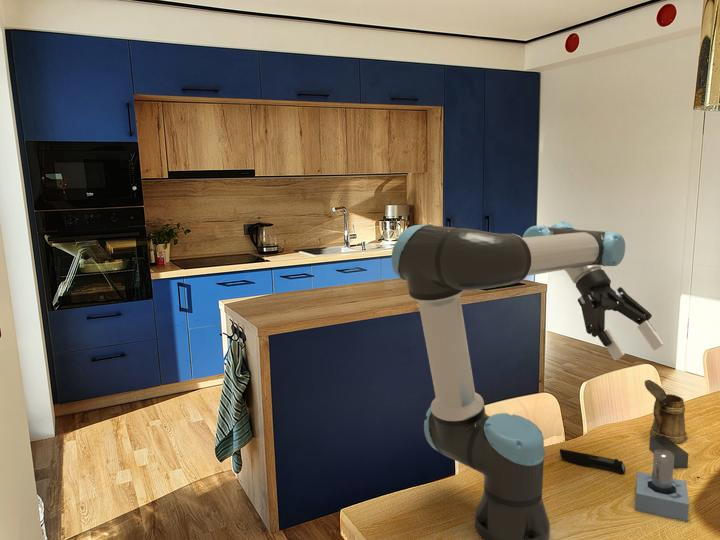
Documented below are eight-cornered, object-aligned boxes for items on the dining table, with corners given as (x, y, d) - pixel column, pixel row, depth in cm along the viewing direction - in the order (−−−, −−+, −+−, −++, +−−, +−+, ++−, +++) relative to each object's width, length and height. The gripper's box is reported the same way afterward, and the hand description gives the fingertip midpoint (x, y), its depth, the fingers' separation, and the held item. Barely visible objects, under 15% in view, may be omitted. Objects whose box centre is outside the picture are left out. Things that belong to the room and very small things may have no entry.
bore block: (635, 510, 125) (636, 493, 125) (636, 487, 134) (637, 471, 133) (687, 521, 121) (688, 504, 120) (684, 497, 130) (686, 481, 129)
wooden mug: (630, 435, 159) (634, 374, 156) (665, 426, 164) (670, 366, 161) (658, 450, 151) (663, 385, 148) (694, 439, 156) (699, 377, 153)
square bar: (648, 450, 152) (649, 436, 151) (663, 449, 152) (664, 435, 151) (671, 469, 142) (673, 454, 141) (687, 468, 142) (688, 453, 141)
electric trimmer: (560, 456, 150) (560, 445, 149) (625, 469, 142) (626, 457, 142) (558, 463, 147) (558, 451, 146) (624, 476, 139) (624, 464, 139)
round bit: (650, 506, 127) (653, 456, 124) (650, 496, 130) (653, 447, 128) (670, 510, 125) (674, 459, 123) (670, 501, 128) (674, 451, 126)
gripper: (612, 280, 148) (662, 351, 138) (542, 291, 137) (591, 370, 126) (632, 262, 143) (685, 335, 132) (561, 273, 131) (613, 353, 121)
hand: (640, 352), depth 129 cm, fingers open, 13 cm apart
